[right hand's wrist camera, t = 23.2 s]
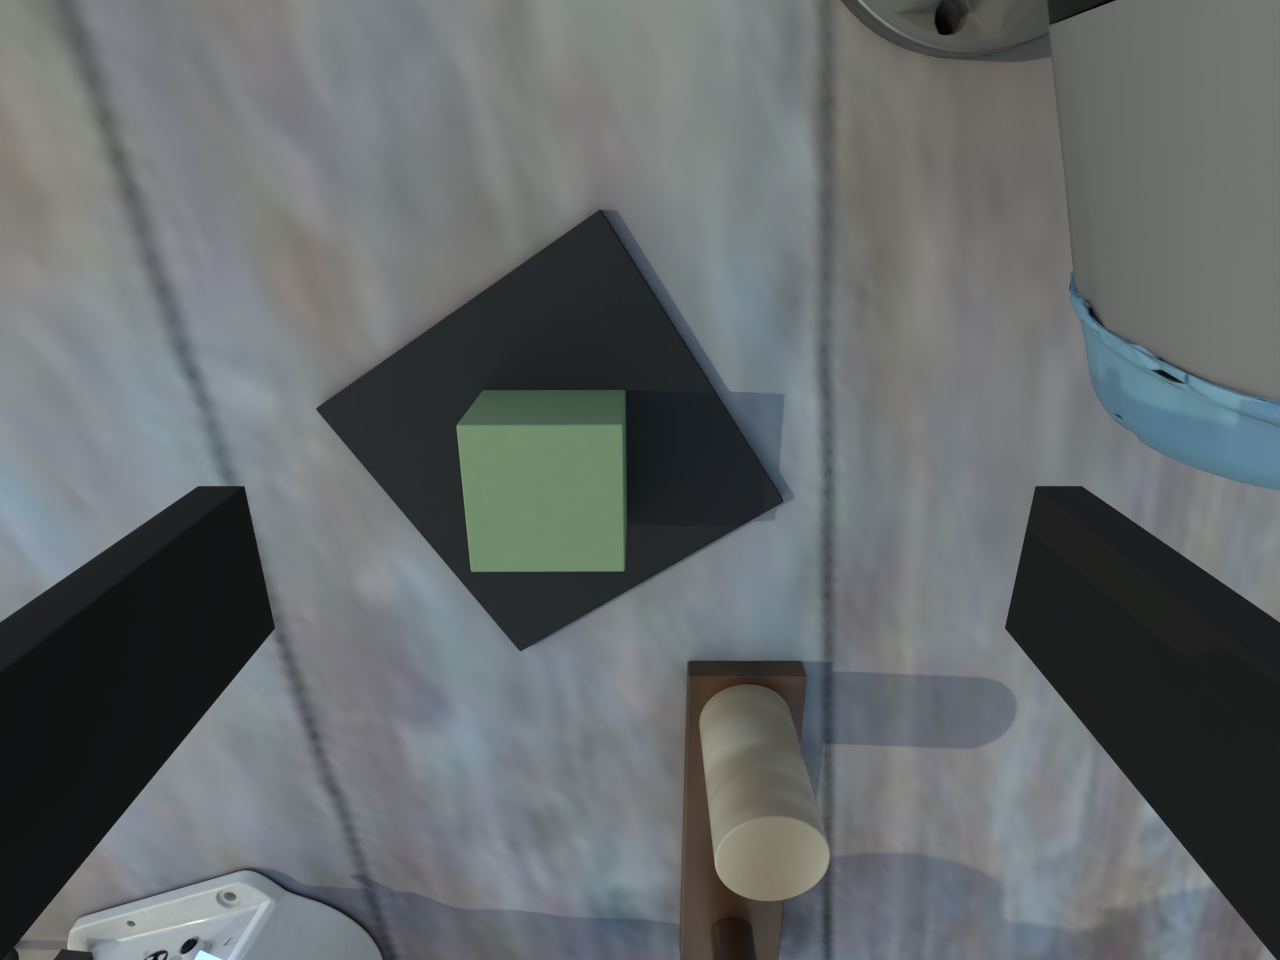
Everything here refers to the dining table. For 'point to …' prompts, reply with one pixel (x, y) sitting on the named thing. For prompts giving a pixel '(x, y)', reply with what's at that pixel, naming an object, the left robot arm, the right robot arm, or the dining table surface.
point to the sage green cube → (545, 480)
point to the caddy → (745, 809)
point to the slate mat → (558, 360)
